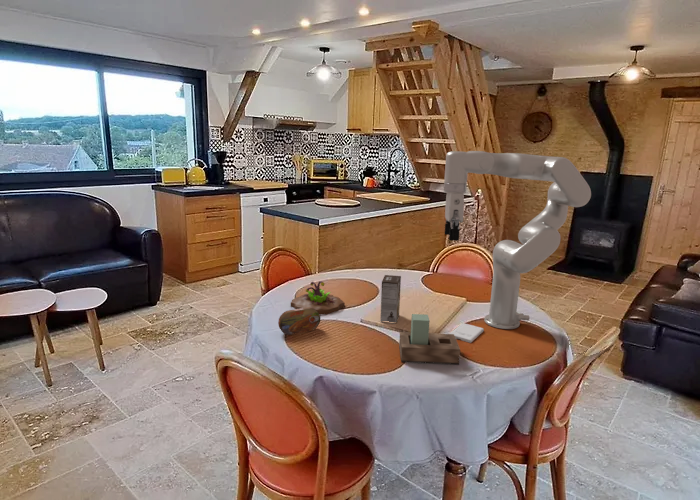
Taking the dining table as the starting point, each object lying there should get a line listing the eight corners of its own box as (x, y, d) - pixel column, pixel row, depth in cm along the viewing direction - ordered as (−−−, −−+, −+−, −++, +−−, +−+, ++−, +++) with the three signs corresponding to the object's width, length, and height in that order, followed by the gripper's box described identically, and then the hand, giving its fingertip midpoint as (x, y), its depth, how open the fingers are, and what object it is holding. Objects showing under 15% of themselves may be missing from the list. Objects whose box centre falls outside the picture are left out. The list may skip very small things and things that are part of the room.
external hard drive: (483, 332, 159) (470, 344, 149) (461, 326, 164) (447, 337, 154) (483, 328, 159) (471, 339, 149) (462, 322, 163) (448, 333, 154)
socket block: (452, 348, 145) (453, 334, 144) (459, 364, 134) (460, 349, 133) (399, 346, 146) (399, 332, 145) (401, 362, 135) (401, 347, 134)
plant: (315, 319, 167) (315, 291, 165) (283, 306, 180) (283, 279, 178) (352, 307, 181) (352, 280, 178) (320, 295, 194) (320, 270, 192)
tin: (280, 337, 151) (280, 314, 149) (277, 333, 154) (277, 310, 152) (320, 329, 158) (320, 307, 156) (317, 326, 160) (317, 304, 158)
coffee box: (383, 313, 174) (384, 274, 170) (399, 315, 172) (401, 275, 169) (379, 322, 165) (381, 281, 161) (397, 324, 164) (399, 282, 160)
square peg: (425, 349, 142) (427, 314, 140) (427, 356, 138) (429, 320, 135) (409, 348, 143) (411, 313, 140) (411, 356, 138) (413, 320, 135)
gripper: (471, 191, 142) (467, 243, 146) (461, 186, 159) (457, 232, 163) (448, 190, 143) (444, 242, 147) (440, 185, 160) (437, 232, 164)
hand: (451, 237), depth 155 cm, fingers open, 9 cm apart
